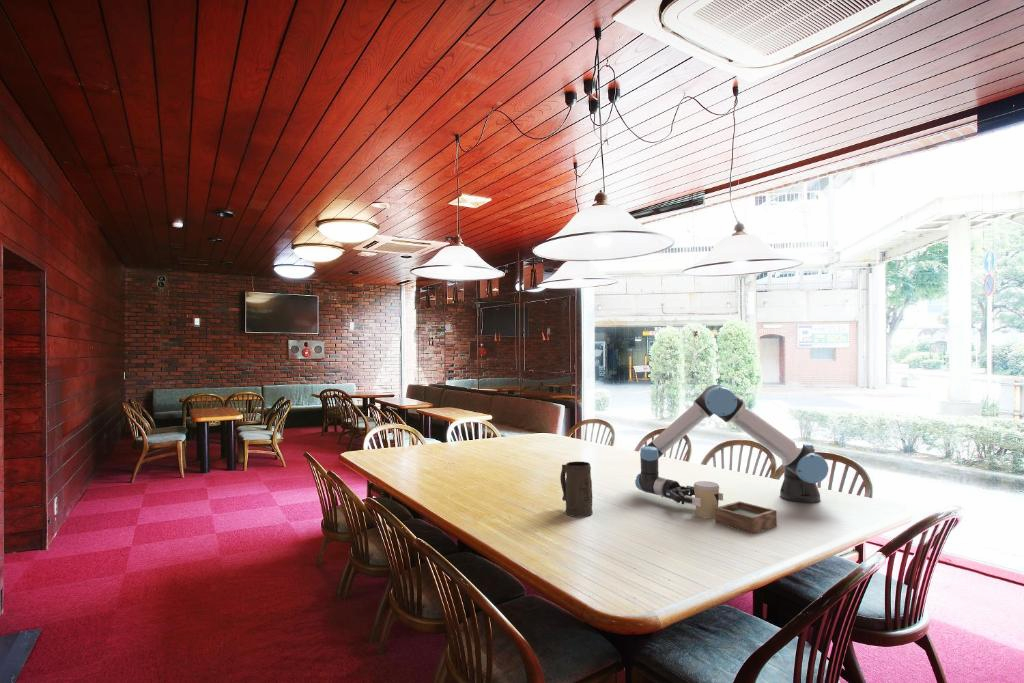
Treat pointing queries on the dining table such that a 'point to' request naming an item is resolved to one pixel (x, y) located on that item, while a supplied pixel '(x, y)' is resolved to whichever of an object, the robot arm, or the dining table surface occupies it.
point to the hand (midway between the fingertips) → (711, 499)
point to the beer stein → (577, 488)
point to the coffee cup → (706, 498)
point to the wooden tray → (746, 517)
